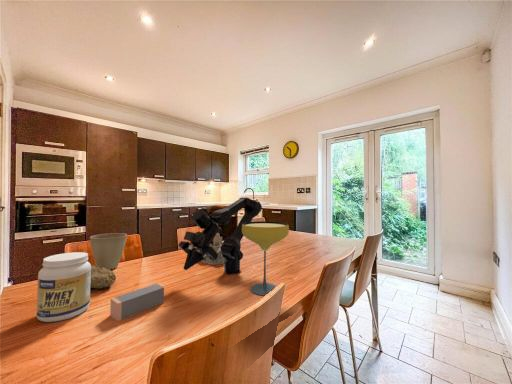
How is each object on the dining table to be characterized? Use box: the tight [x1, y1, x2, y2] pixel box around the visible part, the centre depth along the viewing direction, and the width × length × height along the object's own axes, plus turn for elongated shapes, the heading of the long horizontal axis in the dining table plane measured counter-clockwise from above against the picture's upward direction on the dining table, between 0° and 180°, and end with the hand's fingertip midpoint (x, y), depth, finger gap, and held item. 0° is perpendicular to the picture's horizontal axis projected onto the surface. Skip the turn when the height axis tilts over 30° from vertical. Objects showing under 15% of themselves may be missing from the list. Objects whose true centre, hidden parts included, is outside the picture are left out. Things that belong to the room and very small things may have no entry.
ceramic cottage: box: [199, 233, 225, 266], centre depth 120 cm, size 16×16×15 cm
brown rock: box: [90, 264, 117, 289], centre depth 87 cm, size 13×8×20 cm
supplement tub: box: [36, 251, 92, 323], centre depth 67 cm, size 12×12×17 cm
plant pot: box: [89, 232, 128, 271], centre depth 106 cm, size 15×15×16 cm
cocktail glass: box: [242, 220, 290, 297], centre depth 84 cm, size 18×18×25 cm
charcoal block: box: [109, 283, 165, 322], centre depth 69 cm, size 5×5×14 cm
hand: (184, 269), depth 83 cm, fingers closed
